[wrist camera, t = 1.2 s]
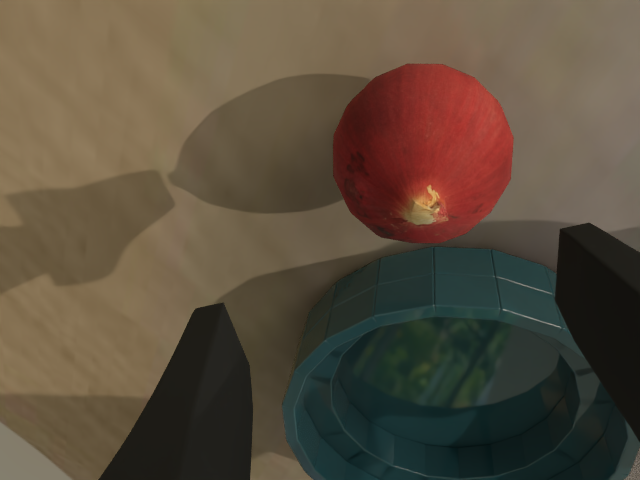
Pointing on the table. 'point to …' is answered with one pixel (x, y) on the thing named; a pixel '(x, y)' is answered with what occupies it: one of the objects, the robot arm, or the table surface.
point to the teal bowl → (449, 377)
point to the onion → (422, 153)
